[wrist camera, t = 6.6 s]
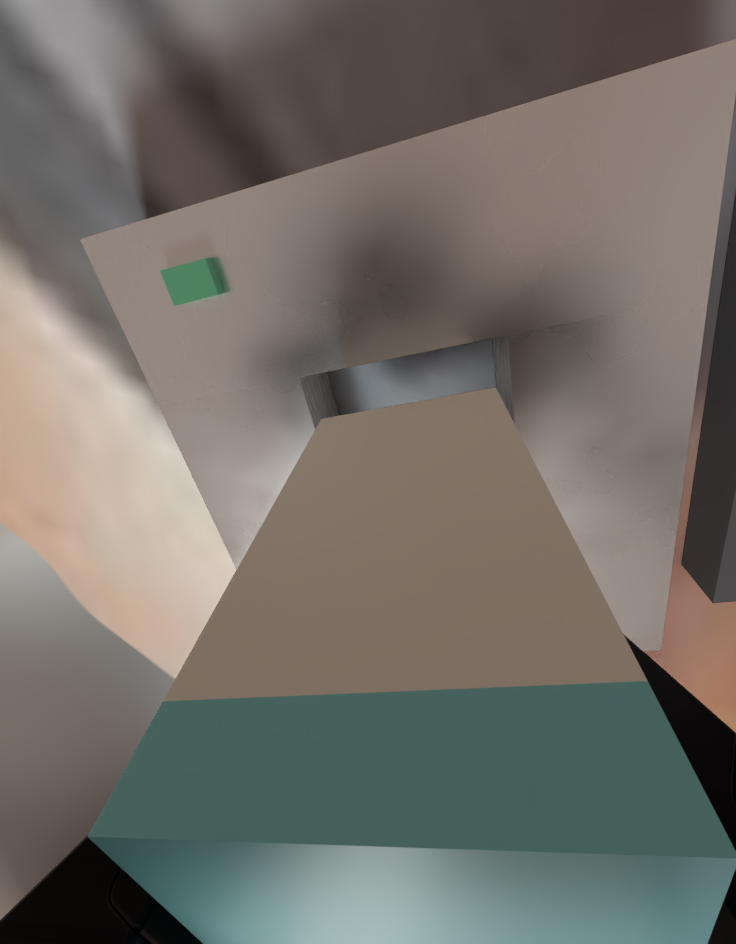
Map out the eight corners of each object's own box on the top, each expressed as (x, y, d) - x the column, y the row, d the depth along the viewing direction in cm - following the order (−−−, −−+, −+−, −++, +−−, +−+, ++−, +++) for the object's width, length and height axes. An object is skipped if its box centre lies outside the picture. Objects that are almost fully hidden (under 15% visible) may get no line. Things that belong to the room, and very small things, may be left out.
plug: (495, 387, 9) (739, 859, 2) (513, 591, 12) (650, 1097, 5) (320, 419, 10) (85, 837, 3) (375, 603, 13) (320, 1052, 6)
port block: (658, 90, 10) (759, 27, 7) (624, 588, 17) (667, 660, 14) (149, 239, 13) (67, 239, 10) (302, 615, 20) (282, 680, 17)
